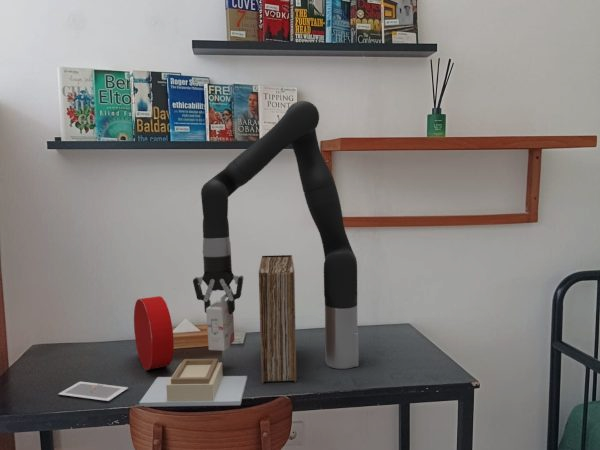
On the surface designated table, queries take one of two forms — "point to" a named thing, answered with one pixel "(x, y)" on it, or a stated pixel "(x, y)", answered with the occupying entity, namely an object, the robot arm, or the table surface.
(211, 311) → the ink cartridge box
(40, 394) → the table surface
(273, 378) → the book
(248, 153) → the robot arm
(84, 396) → the touchpad
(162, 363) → the toy clock
